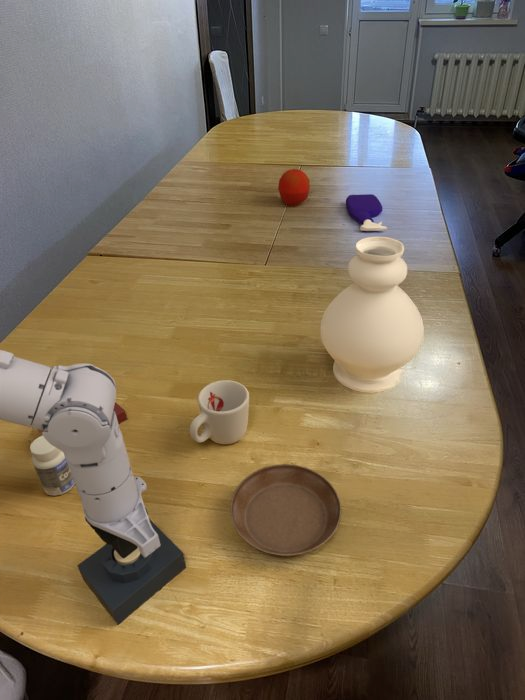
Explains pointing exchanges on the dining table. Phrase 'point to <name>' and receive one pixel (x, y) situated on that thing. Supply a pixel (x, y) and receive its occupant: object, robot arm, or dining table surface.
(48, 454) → the pill bottle
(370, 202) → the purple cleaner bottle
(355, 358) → the decorative vase
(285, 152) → the dining table surface
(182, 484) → the dining table surface
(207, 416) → the cup
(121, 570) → the dark knob button block
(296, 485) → the saucer
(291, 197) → the apple
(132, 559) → the cylindrical peg
